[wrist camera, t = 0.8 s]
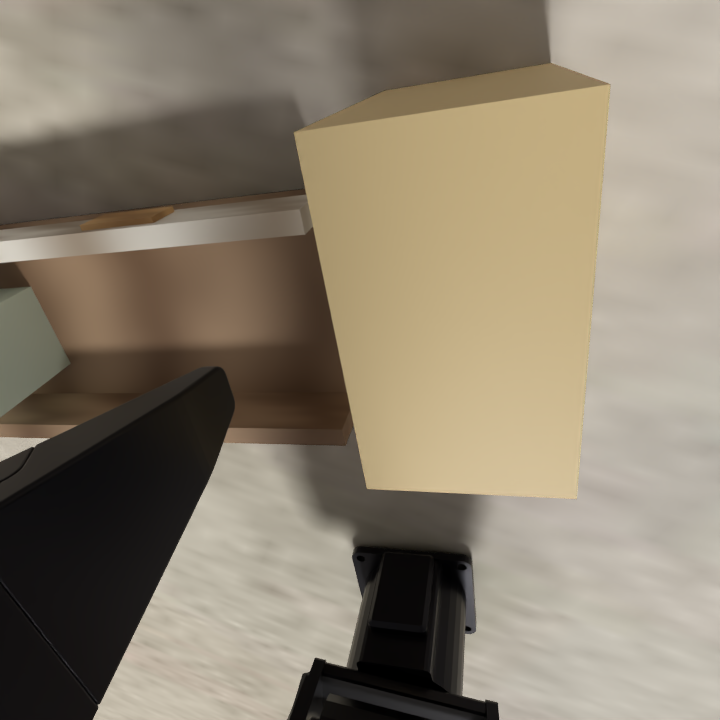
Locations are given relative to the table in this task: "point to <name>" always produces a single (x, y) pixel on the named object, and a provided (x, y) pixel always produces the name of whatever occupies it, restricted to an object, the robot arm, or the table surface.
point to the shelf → (184, 314)
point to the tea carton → (463, 275)
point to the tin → (25, 347)
